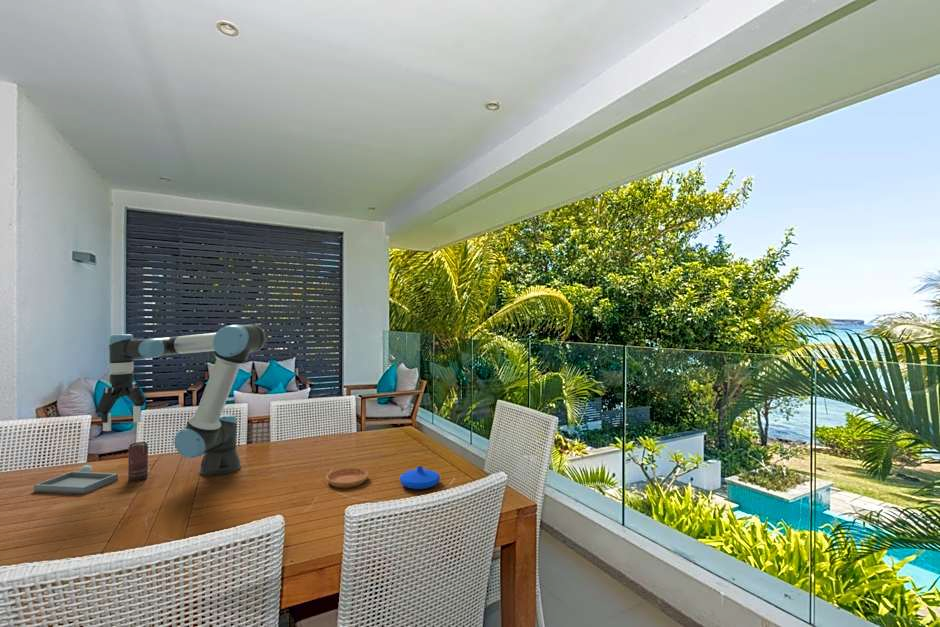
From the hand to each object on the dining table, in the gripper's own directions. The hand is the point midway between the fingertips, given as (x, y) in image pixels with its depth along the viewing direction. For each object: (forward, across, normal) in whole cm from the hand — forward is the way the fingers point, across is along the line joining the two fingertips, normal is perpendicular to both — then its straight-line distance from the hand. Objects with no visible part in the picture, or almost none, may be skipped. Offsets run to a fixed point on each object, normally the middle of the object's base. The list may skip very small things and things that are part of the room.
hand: (122, 426), depth 177 cm
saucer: (+24, -8, +90) cm, 93 cm away
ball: (+20, -2, -18) cm, 27 cm away
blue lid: (+24, -8, +119) cm, 121 cm away
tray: (+20, +9, -10) cm, 25 cm away
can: (+21, 0, +7) cm, 22 cm away
